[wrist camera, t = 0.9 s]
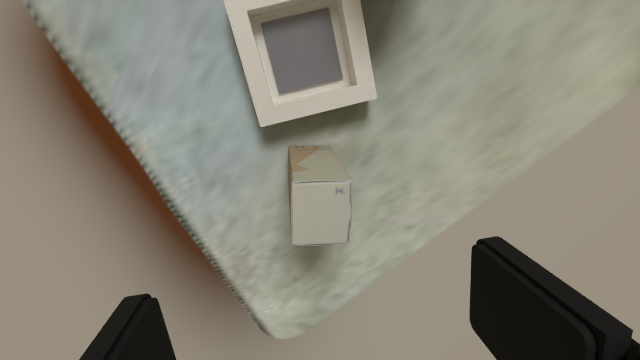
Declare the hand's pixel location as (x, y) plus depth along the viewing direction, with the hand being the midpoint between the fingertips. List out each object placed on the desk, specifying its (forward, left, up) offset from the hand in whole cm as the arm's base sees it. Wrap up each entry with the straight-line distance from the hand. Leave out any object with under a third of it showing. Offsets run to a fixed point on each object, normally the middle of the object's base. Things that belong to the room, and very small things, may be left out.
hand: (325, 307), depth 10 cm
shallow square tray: (-3, -8, -24) cm, 25 cm away
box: (-1, +3, -24) cm, 24 cm away
